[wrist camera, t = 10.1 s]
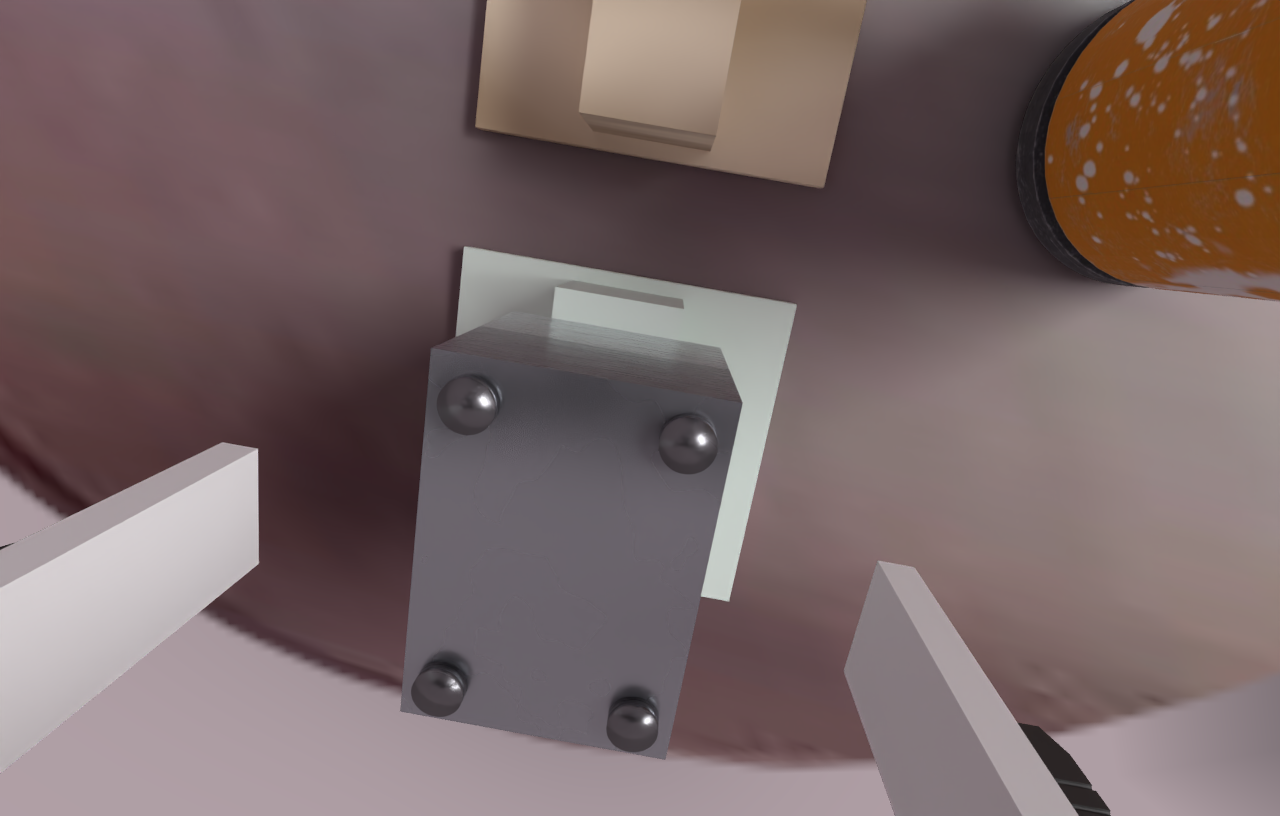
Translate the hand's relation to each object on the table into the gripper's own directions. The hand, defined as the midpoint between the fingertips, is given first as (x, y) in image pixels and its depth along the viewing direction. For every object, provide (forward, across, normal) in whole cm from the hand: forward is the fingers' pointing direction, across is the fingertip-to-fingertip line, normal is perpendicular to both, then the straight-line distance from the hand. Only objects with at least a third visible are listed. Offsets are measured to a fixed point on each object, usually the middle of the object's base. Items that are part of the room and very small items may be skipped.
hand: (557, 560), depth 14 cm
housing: (+8, 0, -1) cm, 8 cm away
